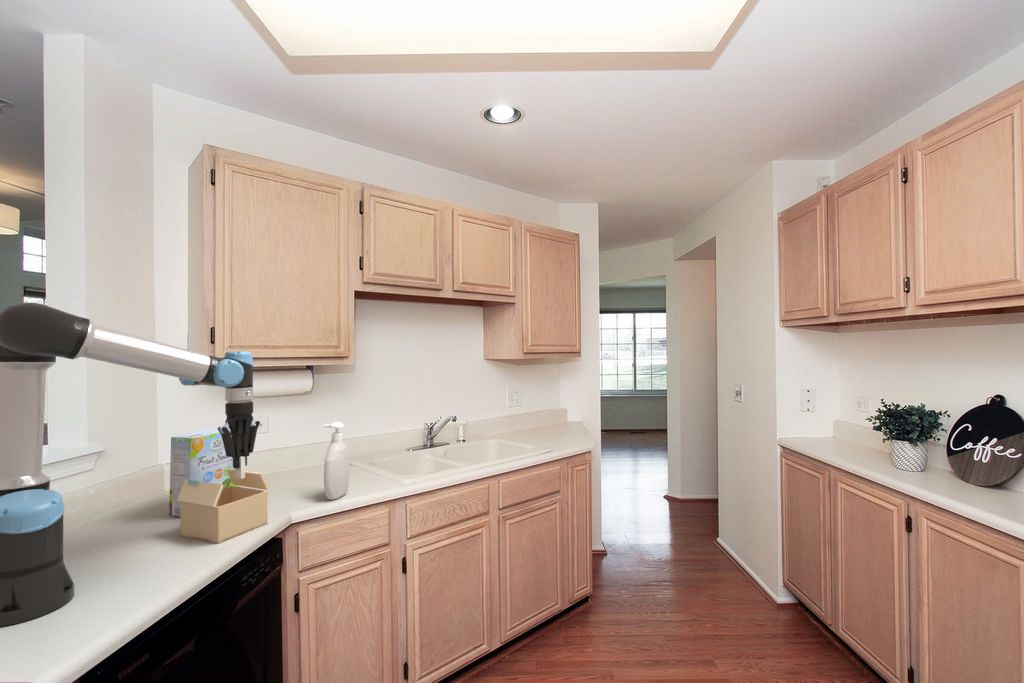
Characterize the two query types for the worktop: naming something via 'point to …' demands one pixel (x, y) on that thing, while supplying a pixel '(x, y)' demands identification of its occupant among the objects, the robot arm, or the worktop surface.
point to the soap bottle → (336, 465)
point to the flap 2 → (249, 479)
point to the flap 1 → (200, 492)
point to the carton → (224, 515)
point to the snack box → (197, 463)
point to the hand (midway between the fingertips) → (240, 477)
